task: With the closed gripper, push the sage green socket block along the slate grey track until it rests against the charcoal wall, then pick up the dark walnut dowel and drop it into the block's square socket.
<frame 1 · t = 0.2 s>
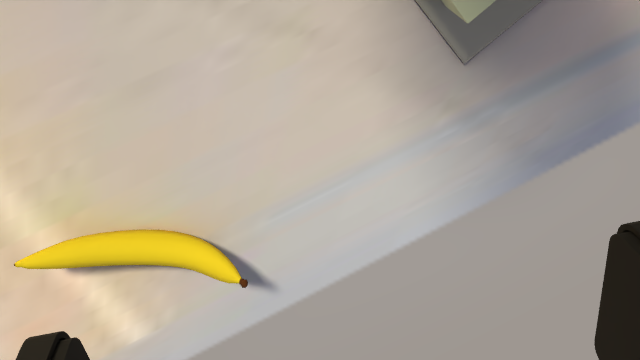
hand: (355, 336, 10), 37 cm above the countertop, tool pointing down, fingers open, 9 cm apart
banana: (143, 234, 52), on the countertop
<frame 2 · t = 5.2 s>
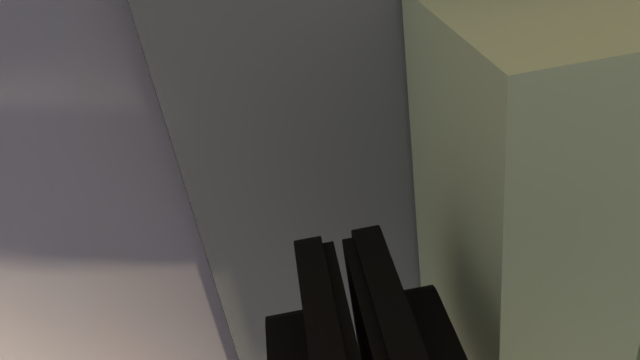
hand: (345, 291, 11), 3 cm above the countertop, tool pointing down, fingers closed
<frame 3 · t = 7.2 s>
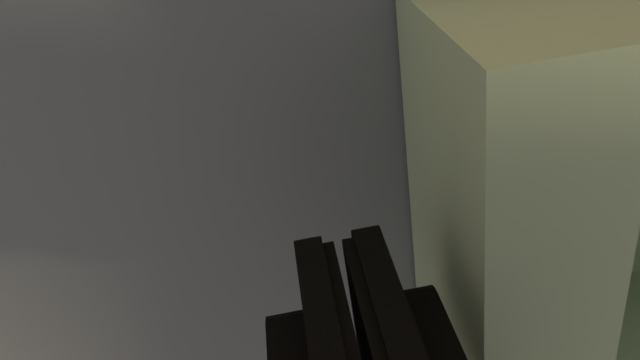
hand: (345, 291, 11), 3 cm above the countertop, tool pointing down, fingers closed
track: (444, 181, 14), on the countertop
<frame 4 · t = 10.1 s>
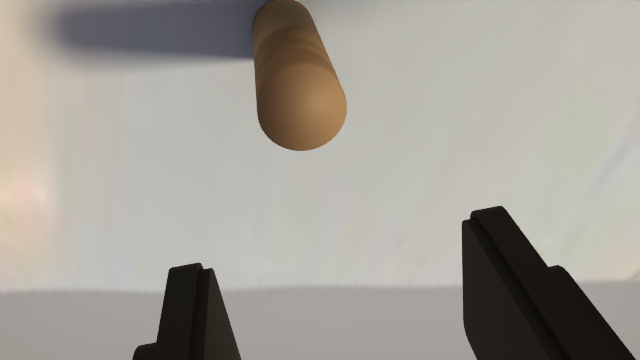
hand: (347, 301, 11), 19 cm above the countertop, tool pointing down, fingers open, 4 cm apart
dowel: (283, 30, 28), on the countertop
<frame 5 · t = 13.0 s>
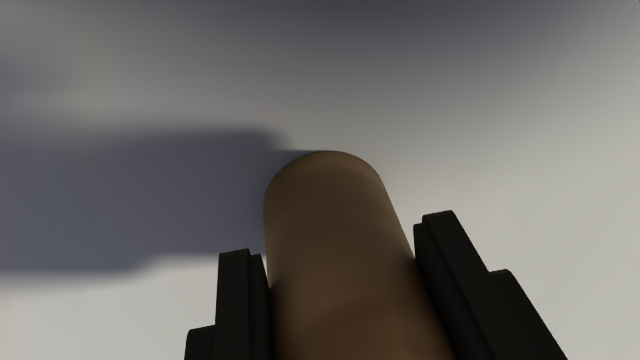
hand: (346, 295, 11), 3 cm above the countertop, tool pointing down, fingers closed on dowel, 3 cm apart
dowel: (325, 206, 14), on the countertop, touching gripper
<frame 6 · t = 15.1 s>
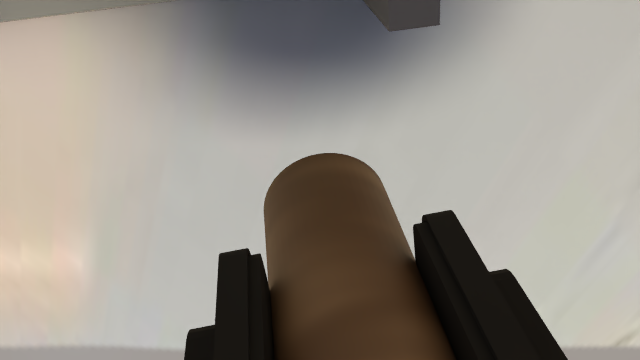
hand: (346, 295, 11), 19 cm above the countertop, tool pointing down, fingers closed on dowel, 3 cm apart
dowel: (325, 207, 14), point 16 cm above the countertop, touching gripper
when the fingers open (7 cm above the countertop, at t = 17.7 s): dowel drops 2 cm, resting on socket block.
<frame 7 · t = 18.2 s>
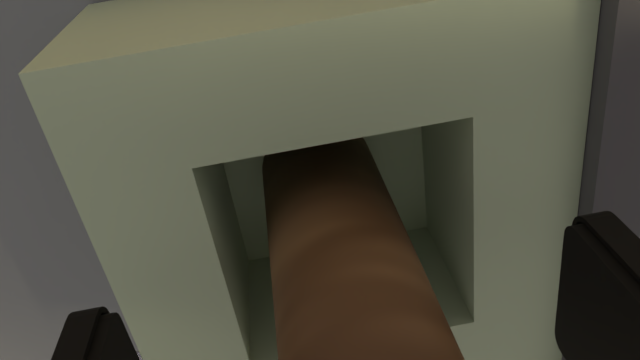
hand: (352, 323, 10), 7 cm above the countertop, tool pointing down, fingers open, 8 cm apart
dowel: (317, 168, 16), point 2 cm above the countertop, touching socket block
socket block: (333, 193, 14), point 3 cm above the countertop, slide at 0.0 cm, touching dowel
track: (186, 165, 17), on the countertop
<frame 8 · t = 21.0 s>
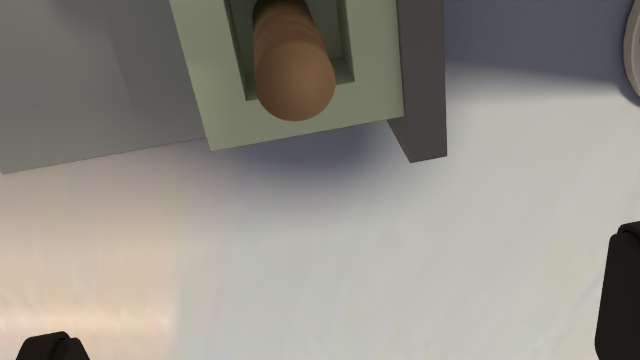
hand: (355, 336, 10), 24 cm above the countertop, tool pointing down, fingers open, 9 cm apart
dowel: (281, 17, 30), point 2 cm above the countertop, touching socket block
socket block: (287, 23, 28), point 3 cm above the countertop, slide at 0.0 cm, touching dowel
track: (211, 21, 31), on the countertop
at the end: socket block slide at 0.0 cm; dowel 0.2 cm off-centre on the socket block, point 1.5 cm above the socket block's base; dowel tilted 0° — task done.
